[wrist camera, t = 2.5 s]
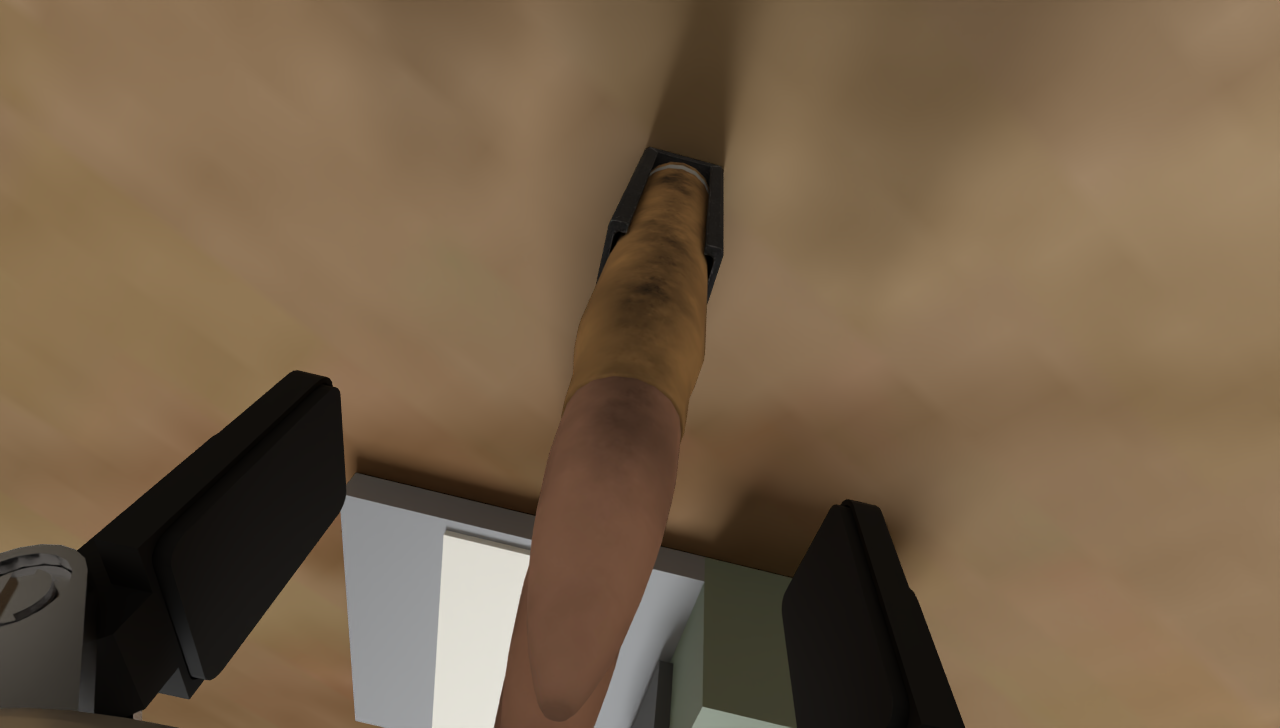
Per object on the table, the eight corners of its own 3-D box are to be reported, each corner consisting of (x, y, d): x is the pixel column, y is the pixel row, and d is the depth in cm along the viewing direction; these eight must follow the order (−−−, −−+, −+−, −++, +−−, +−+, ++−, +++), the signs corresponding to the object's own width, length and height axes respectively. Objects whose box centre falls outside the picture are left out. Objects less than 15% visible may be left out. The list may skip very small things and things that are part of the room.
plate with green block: (876, 598, 20) (921, 758, 15) (748, 787, 27) (755, 932, 23) (356, 472, 19) (253, 600, 15) (367, 698, 26) (300, 827, 22)
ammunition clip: (623, 498, 19) (512, 1079, 8) (568, 484, 19) (388, 1050, 8) (725, 166, 13) (763, 664, 3) (646, 145, 13) (403, 574, 3)
